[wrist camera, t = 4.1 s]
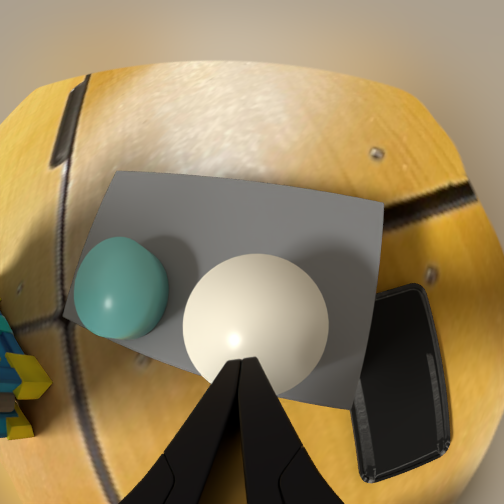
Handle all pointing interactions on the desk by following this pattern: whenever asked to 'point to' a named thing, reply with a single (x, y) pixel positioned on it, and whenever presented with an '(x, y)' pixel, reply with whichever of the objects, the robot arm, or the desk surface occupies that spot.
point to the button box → (250, 242)
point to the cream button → (257, 319)
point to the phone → (400, 388)
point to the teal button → (120, 289)
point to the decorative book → (17, 384)
